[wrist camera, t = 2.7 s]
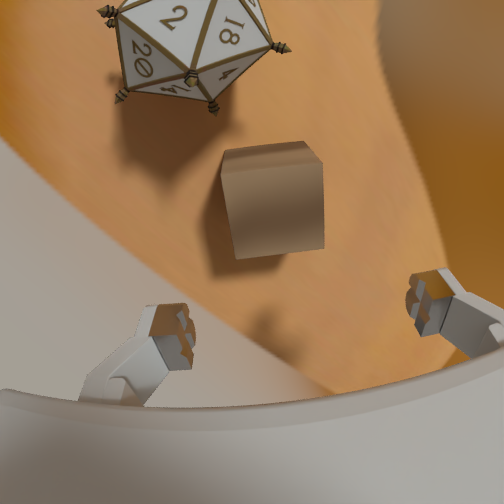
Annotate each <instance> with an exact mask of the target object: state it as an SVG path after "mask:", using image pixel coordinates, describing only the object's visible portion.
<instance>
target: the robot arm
mask: <svg viewBox="0 0 504 504" xmlns="http://www.w3.org/2000/svg"><path fill="white" fill-rule="evenodd" d="M409 284H410V286H411V288H410V289H409V290H408V291H407V293H406V299H405V301H406V309H407V312H408V314H409V316H410V317H412V318H413V319H415V324H414V325H415V327H416V329H417V331H418V332H419V334H420V336H421V337H424V336H429V335H433V334H437V333H440V335H442V336H443V337H444V338H445V339H447V340H448V341H449V342H451V343H452V344H453V345H455V346H456V347H457V348H458V349H460V350H461V351H462V352H464V353H465V354H466V355H468V356H469V357H470V358H471V359H470V360H467V361H464V362H461V363H458V364H455V365H452V366H450V367H446V368H443V369H440V370H437V371H433V372H430V373H427V374H423V375H420V376H416V377H412V378H409V379H405V380H401V381H397V382H393V383H389V384H385V385H380V386H376V387H372V388H367V389H362V390H357V391H352V392H347V393H341V394H336V395H330V396H324V397H317V398H311V399H303V400H296V401H288V402H279V403H270V404H259V405H247V406H231V407H205V408H160V407H159V408H158V407H156V408H155V407H144V406H143V404H144V403H145V402H146V401H147V399H148V398H149V397H150V396H151V395H152V393H153V392H154V391H155V390H156V388H157V387H158V386H159V384H160V383H161V382H162V381H163V379H164V378H165V377H166V376H167V374H168V373H169V371H171V370H189V369H192V363H193V356H194V354H193V352H192V348H193V347H194V346H195V341H196V333H195V327H194V323H193V320H191V319H190V318H189V309H188V306H187V304H186V303H175V304H159V305H147V306H145V307H144V309H143V312H142V314H141V318H140V320H139V323H138V327H137V329H136V332H135V335H134V337H131V338H129V339H128V340H127V341H126V342H124V343H123V344H122V345H121V346H120V347H119V348H118V349H117V350H115V351H114V352H113V353H112V354H111V355H110V356H108V357H107V358H106V359H105V360H104V361H103V362H102V363H100V364H99V365H98V366H97V367H96V368H95V369H94V370H93V371H91V372H90V373H89V374H88V375H87V377H86V380H85V382H84V385H83V388H82V391H81V393H80V396H79V399H78V401H72V400H65V399H58V398H52V397H46V396H40V395H34V394H30V393H25V392H20V391H16V390H12V389H2V390H0V504H504V310H503V309H502V308H500V307H498V306H496V305H494V304H492V303H490V302H488V301H486V300H484V299H482V298H480V297H478V296H476V295H474V294H472V293H470V292H468V293H466V291H465V290H464V289H463V287H462V286H461V285H460V284H459V282H458V281H457V280H456V278H455V277H454V276H453V275H452V273H451V272H450V271H449V270H448V269H447V268H440V269H435V270H431V271H426V272H420V273H415V274H412V275H411V276H410V279H409Z"/></svg>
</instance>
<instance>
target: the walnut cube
mask: <svg viewBox="0 0 504 504" xmlns="http://www.w3.org/2000/svg"><path fill="white" fill-rule="evenodd" d="M221 180H222V186H223V192H224V197H225V203H226V209H227V214H228V220H229V225H230V231H231V236H232V242H233V247H234V253H235V258H236V260H237V259H245V258H253V257H262V256H270V255H278V254H286V253H294V252H302V251H310V250H318V249H324V189H323V163H322V162H321V161H320V159H319V158H318V157H317V156H316V155H315V153H314V152H313V151H312V150H311V149H310V148H309V146H308V145H307V144H306V143H305V142H304V141H297V142H287V143H277V144H268V145H259V146H251V147H243V148H236V149H229V150H225V153H224V158H223V164H222V169H221Z"/></svg>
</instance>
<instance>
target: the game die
mask: <svg viewBox="0 0 504 504" xmlns="http://www.w3.org/2000/svg"><path fill="white" fill-rule="evenodd" d="M96 11H98V12H99V13H100V14H101V16H102V17H103V18H105V17H108V18H111V17H114V19H109V20H108V21H107V22H105V24H106V25H107V26H108V27H109V28H111V27H112V28H114V27H115V29H116V36H117V43H118V50H119V56H120V63H121V69H122V74H123V80H124V86H125V87H124V89H122V90H121V91H120V90H119V93H118V94H115V95H116V99H115V104H117V103H119V102H121V101H123V102H124V99H125V98H127V95H128V93H129V92H130V91H132V92H142V93H150V94H159V95H166V96H173V97H180V98H187V99H193V100H199V101H205V102H208V103H209V106H208V108H209V112H211V113H213V114H214V115H215V116H217V113H218V110H219V109H220V108H218V104H217V103H216V102H215V99H216V98H217V97H218V96H219V95H220V94H221V93H222V92H223V91H224V90H225V89H226V88H228V87H229V86H230V85H231V84H232V83H233V82H234V81H235V80H236V79H237V78H238V77H239V76H241V75H242V74H243V73H244V72H245V71H246V70H247V69H248V68H249V67H251V66H252V65H253V64H254V63H255V62H256V61H257V60H259V59H260V58H261V57H262V56H263V55H265V54H266V53H267V52H268V51H269V50H270V49H273V50H275V51H276V53H277V52H279V53H281V54H283V53H287V52H292V51H291V50H290V49H289V48H288V47H287V46H286V43H284V44H281V42H279V43H274V42H273V41H272V38H271V35H270V32H269V29H268V26H267V23H266V20H265V17H264V14H263V11H262V9H261V6H260V3H259V0H125V1H124V2H123V3H122V4H121V5H120V6H119V7H118V9H115V8H114V6H112V7H109V5H107V6H105V7H104V8H101V9H99V10H96Z"/></svg>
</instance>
